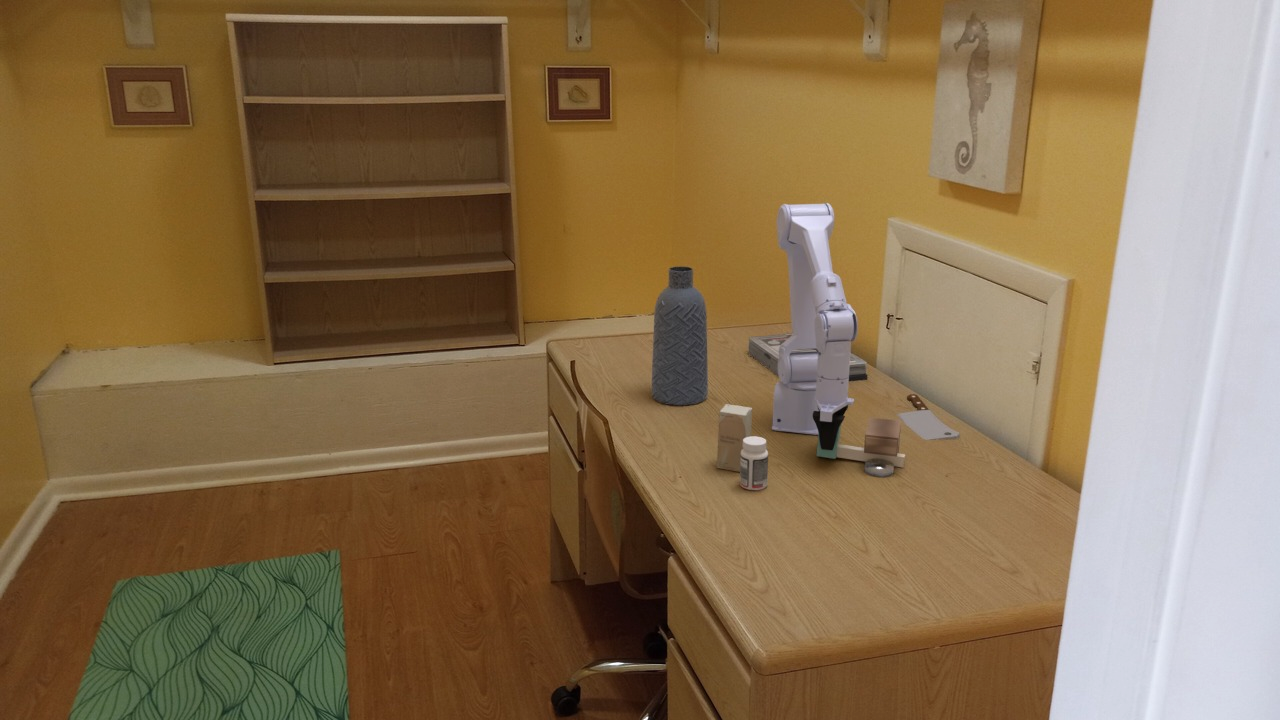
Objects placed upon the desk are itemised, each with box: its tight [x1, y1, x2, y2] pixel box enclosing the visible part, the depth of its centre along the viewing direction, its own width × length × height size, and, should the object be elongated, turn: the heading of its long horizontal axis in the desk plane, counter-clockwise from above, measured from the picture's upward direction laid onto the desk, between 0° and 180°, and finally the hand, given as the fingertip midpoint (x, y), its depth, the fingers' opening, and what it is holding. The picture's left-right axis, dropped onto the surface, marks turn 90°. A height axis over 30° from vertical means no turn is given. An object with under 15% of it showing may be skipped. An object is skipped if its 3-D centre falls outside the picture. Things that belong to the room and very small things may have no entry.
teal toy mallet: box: [816, 424, 906, 468], centre depth 182 cm, size 16×4×6 cm, turn 73°
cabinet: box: [863, 417, 902, 457], centre depth 181 cm, size 6×9×7 cm, turn 163°
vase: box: [650, 266, 709, 406], centre depth 212 cm, size 12×12×28 cm
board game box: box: [748, 333, 868, 382], centre depth 237 cm, size 18×27×4 cm
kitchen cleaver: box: [896, 393, 961, 441], centre depth 204 cm, size 24×1×10 cm
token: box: [864, 459, 895, 478], centre depth 179 cm, size 5×5×2 cm
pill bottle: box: [739, 435, 769, 491], centre depth 172 cm, size 5×5×8 cm
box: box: [716, 403, 753, 473], centre depth 179 cm, size 5×4×11 cm
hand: (828, 445), depth 184 cm, fingers closed on teal toy mallet, 3 cm apart
